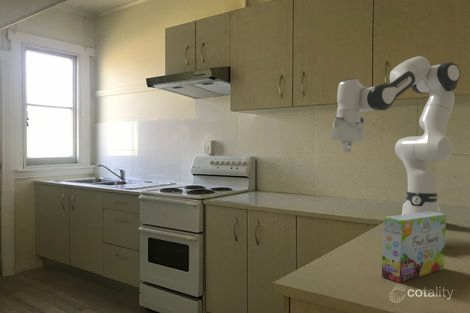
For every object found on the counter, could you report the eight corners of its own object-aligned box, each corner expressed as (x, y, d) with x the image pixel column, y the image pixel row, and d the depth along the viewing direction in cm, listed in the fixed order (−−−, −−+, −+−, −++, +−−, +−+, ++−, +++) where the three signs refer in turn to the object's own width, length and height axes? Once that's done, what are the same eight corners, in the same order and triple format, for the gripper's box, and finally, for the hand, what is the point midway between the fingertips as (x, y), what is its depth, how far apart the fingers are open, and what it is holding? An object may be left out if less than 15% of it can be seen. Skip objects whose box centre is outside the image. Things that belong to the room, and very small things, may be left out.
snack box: (402, 284, 89) (403, 219, 89) (380, 277, 93) (381, 216, 93) (445, 269, 101) (447, 212, 101) (424, 264, 106) (426, 210, 106)
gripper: (342, 115, 145) (341, 151, 146) (366, 120, 160) (365, 152, 160) (327, 116, 150) (327, 151, 150) (352, 120, 165) (351, 152, 165)
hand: (347, 152), depth 155 cm, fingers closed
